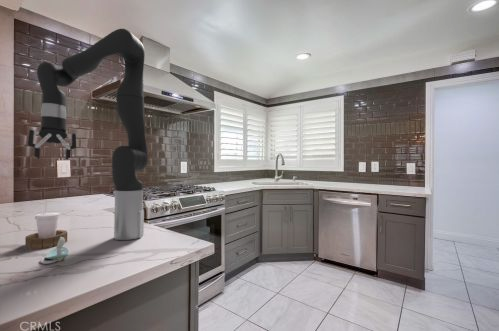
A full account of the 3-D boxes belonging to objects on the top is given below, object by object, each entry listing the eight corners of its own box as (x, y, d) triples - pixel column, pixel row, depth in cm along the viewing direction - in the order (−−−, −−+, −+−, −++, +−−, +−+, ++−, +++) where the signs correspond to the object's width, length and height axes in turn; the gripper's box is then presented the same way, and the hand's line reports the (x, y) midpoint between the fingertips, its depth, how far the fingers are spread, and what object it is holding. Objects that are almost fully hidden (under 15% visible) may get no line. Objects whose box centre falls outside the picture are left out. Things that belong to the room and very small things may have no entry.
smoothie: (44, 240, 81) (45, 199, 81) (64, 240, 82) (65, 199, 82) (28, 246, 75) (29, 202, 75) (50, 246, 75) (51, 202, 76)
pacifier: (38, 267, 61) (68, 261, 64) (37, 243, 60) (67, 238, 64) (41, 258, 66) (68, 253, 70) (41, 236, 66) (68, 232, 70)
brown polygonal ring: (72, 237, 85) (72, 229, 85) (56, 247, 74) (56, 238, 74) (38, 239, 82) (38, 231, 82) (16, 250, 72) (17, 240, 72)
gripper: (75, 121, 99) (74, 159, 99) (28, 115, 89) (27, 158, 89) (78, 118, 94) (77, 159, 94) (29, 112, 84) (27, 158, 84)
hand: (52, 159), depth 91 cm, fingers open, 8 cm apart
